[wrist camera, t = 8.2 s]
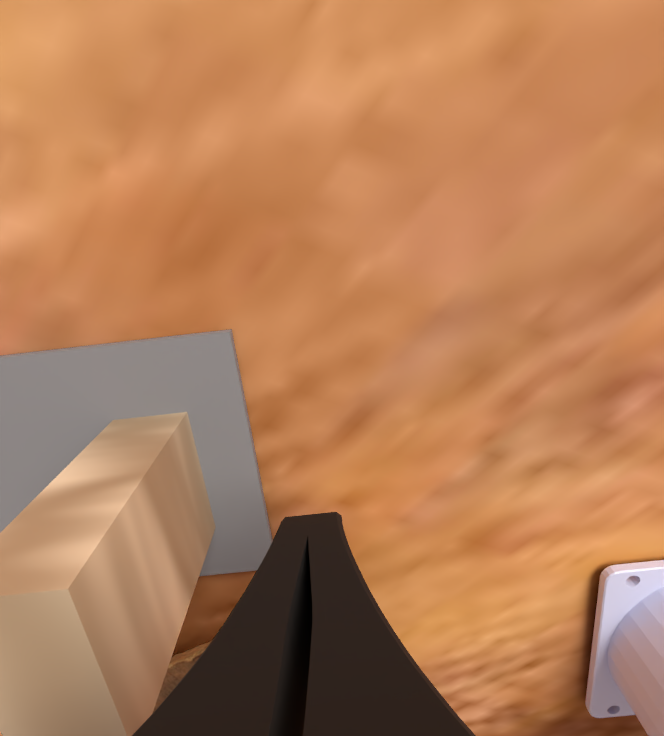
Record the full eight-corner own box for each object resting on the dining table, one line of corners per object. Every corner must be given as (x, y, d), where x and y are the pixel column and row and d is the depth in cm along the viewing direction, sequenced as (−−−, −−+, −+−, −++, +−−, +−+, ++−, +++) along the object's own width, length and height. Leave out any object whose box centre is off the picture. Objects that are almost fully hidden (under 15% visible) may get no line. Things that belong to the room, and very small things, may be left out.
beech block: (187, 412, 14) (67, 588, 8) (215, 527, 16) (136, 758, 9) (111, 420, 14) (-74, 603, 8) (146, 534, 16) (18, 770, 9)
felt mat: (231, 329, 14) (229, 331, 13) (276, 562, 17) (276, 568, 16) (-214, 379, 14) (-225, 383, 14) (-90, 599, 17) (-97, 606, 17)
